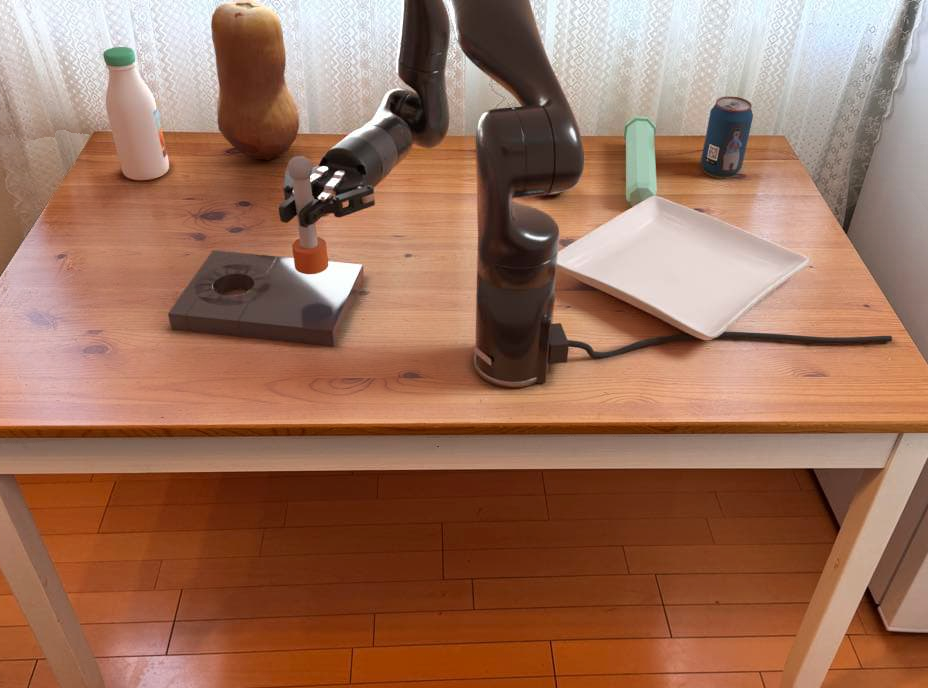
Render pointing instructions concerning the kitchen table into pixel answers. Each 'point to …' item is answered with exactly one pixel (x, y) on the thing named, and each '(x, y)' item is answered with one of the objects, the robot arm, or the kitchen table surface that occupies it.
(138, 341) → the kitchen table surface
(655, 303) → the square plate
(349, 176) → the robot arm
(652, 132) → the container
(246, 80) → the butternut squash
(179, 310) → the dark grey slab
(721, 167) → the soda can
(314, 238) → the stopper
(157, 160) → the milk bottle
